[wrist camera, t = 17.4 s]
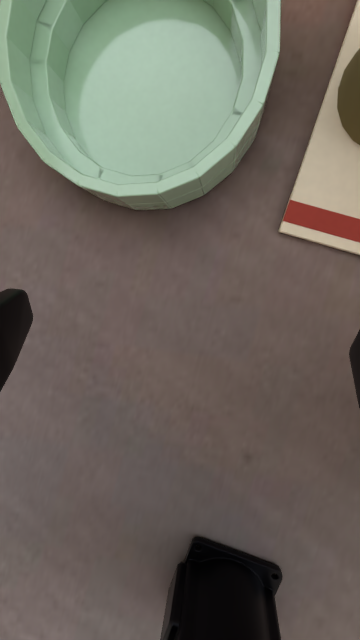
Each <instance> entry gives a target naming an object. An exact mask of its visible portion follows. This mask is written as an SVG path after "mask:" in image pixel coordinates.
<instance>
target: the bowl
mask: <svg viewBox="0 0 360 640" xmlns="http://www.w3.org/2000/svg"><path fill="white" fill-rule="evenodd" d="M280 23H281V0H1V1H0V83H1V87H2V90H3V92H4V95H5V97H6V100H7V103H8V105H9V108H10V110H11V113H12V116H13V118H14V121H15V123H16V126H17V127H18V129H19V130H20V132H21V133H22V134H23V136H24V137H25V138H26V140H27V141H28V142H29V144H30V145H31V146H32V148H33V149H34V150H35V151H36V153H37V154H38V155H39V157H40V158H41V159H42V161H44V162H45V163H46V164H47V165H49V166H50V167H51V168H53V169H54V170H56V171H57V172H59V173H60V174H61V175H63V176H64V177H66V178H67V179H69V180H70V181H71V182H73V183H74V184H76V185H77V186H79V187H81V188H83V189H84V190H86V191H88V192H90V193H92V194H93V195H95V196H97V197H99V198H101V199H102V200H104V201H106V202H110V203H113V204H117V205H120V206H124V207H127V208H130V209H134V210H153V209H170V208H174V207H176V206H179V205H181V204H184V203H186V202H189V201H191V200H194V199H196V198H199V197H201V196H203V195H205V194H206V193H208V192H209V191H210V190H211V189H212V188H214V187H215V186H216V185H217V184H218V183H220V182H221V181H222V180H223V179H225V178H226V177H227V176H228V175H229V174H231V173H232V172H233V171H234V170H235V168H236V167H237V165H238V164H239V162H240V160H241V159H242V157H243V156H244V154H245V153H246V151H247V150H248V148H249V147H250V145H251V144H252V142H253V141H254V139H255V137H256V135H257V131H258V128H259V125H260V122H261V119H262V115H263V112H264V109H265V106H266V103H267V99H268V96H269V92H270V88H271V84H272V80H273V77H274V73H275V69H276V66H277V62H278V58H279V53H280Z"/></svg>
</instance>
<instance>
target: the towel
mask: <svg viewBox="0 0 360 640" xmlns="http://www.w3.org/2000/svg"><path fill="white" fill-rule="evenodd" d="M359 48H360V0H357V2H356V5H355V8H354V11H353V14H352V17H351V20H350V23H349V26H348V29H347V32H346V35H345V37H344V40H343V43H342V46H341V49H340V52H339V55H338V58H337V61H336V64H335V67H334V70H333V73H332V76H331V78H330V81H329V84H328V87H327V90H326V93H325V96H324V99H323V102H322V105H321V108H320V111H319V114H318V116H317V119H316V122H315V125H314V128H313V131H312V134H311V137H310V140H309V143H308V146H307V149H306V152H305V155H304V157H303V160H302V163H301V166H300V169H299V172H298V175H297V178H296V181H295V184H294V187H293V190H292V193H291V195H290V198H289V201H288V204H287V207H286V210H285V213H284V216H283V219H282V222H281V225H280V228H279V231H278V232H280V233H284V234H287V235H291V236H294V237H298V238H301V239H305V240H308V241H312V242H315V243H319V244H322V245H326V246H329V247H333V248H336V249H340V250H343V251H347V252H350V253H354V254H357V255H360V145H359V144H357V143H356V142H354V141H353V140H352V139H351V138H350V136H349V135H348V133H347V132H346V131H345V129H344V128H343V127H342V124H341V120H340V117H339V113H338V110H337V99H338V87H339V84H340V81H341V78H342V75H343V72H344V70H345V68H346V67H347V65H348V64H349V62H350V61H351V59H352V58H353V56H354V55H355V53H356V52H357V51H358V50H359Z"/></svg>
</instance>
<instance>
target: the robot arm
mask: <svg viewBox="0 0 360 640" xmlns="http://www.w3.org/2000/svg"><path fill="white" fill-rule="evenodd" d="M32 321H33V313H32V310H31V306H30V303H29V299H28V295H27V293H26V292H25V291H24V290H20V289H6V290H4V291H1V292H0V391H1V390H2V388H3V386H4V384H5V382H6V381H7V379H8V377H9V375H10V373H11V371H12V369H13V367H14V365H15V363H16V361H17V358H18V356H19V353H20V351H21V349H22V346H23V344H24V341H25V339H26V336H27V334H28V332H29V329H30V327H31V324H32ZM349 356H350V362H351V367H352V373H353V378H354V383H355V389H356V394H357V399H358V403H359V408H360V330H359V332H358V334H357V336H356V338H355V340H354V342H353V343H352V345H351V348H350V352H349ZM196 545H200V546H196ZM273 573H276V574H273ZM281 580H282V572H281V569H280V568H279V567H278V566H276V565H274V564H271V563H268V562H266V561H263V560H260V559H257V558H255V557H252V556H249V555H247V554H244V553H241V552H238V551H236V550H233V549H230V548H228V547H225V546H222V545H219V544H217V543H214V542H211V541H209V540H206V539H203V538H200V537H195V538H193V539H192V541H191V544H190V547H189V550H188V552H187V555H186V558H185V561H184V563H183V562H180V563H179V564H178V565H177V568H176V571H175V573H174V576H173V579H172V582H171V585H170V588H169V591H168V597H167V603H166V609H165V615H164V621H163V627H162V633H161V639H160V640H281V636H280V630H279V623H278V617H277V610H276V604H275V598H274V596H275V594H276V592H277V589H278V587H279V585H280V583H281Z"/></svg>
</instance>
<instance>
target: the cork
mask: <svg viewBox="0 0 360 640" xmlns="http://www.w3.org/2000/svg"><path fill="white" fill-rule="evenodd" d="M337 110H338V113H339V117H340V120H341V124H342V127H343V128H344V129H345V131H346V132H347V133H348V135H349V136H350V138H351V139H352V140H353V141H354V142H356V143H357V144H359V145H360V48H359V50H358V51H357V52H356V53H355V55H354V56H353V58H352V59H351V61H350V62H349V64H348V65H347V67H346V68H345V70H344V72H343V75H342V78H341V81H340V84H339V87H338V99H337Z"/></svg>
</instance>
